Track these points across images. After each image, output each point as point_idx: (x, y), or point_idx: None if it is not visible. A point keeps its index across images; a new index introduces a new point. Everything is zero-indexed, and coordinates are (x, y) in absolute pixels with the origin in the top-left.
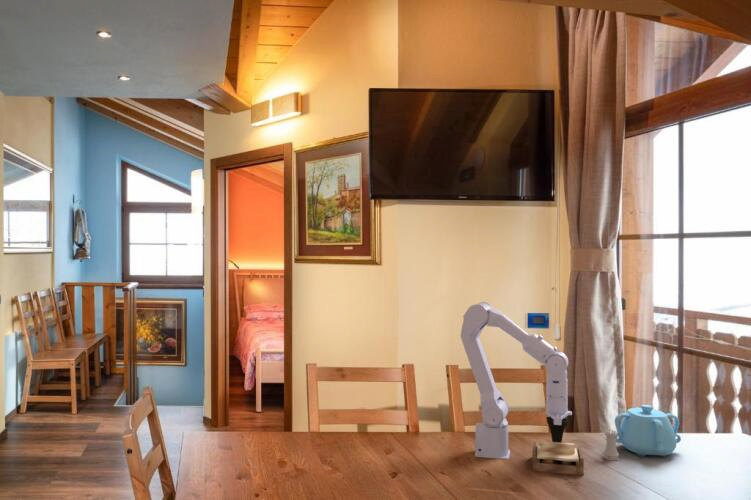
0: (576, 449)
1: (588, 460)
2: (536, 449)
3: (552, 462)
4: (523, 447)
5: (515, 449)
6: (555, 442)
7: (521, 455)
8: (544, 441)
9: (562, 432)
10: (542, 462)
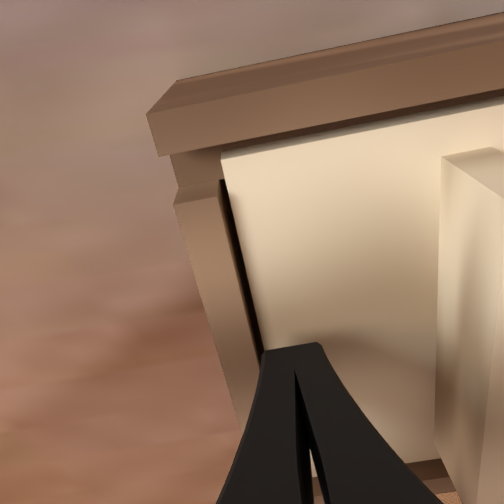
0: (282, 152)
1: (53, 11)
2: None
3: None
4: (64, 478)
5: (133, 498)
6: (500, 418)
7: (227, 458)
8: (482, 501)
9: (412, 479)
10: None
